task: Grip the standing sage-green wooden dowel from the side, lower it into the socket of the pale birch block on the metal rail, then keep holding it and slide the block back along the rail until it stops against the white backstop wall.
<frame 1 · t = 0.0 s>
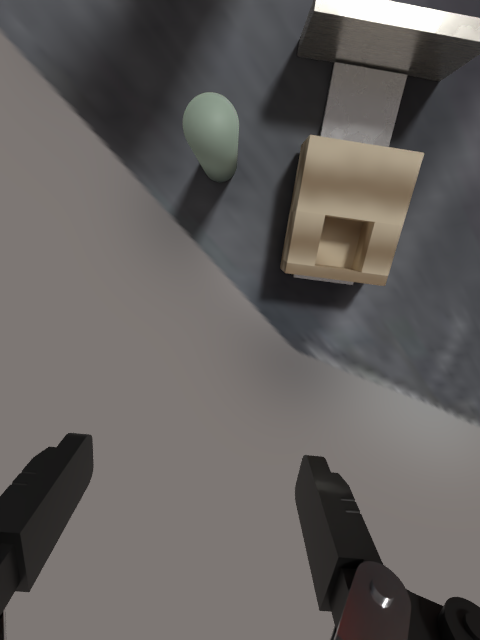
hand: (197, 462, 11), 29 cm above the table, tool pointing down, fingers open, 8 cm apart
rail base: (343, 186, 35), on the table
dowel: (219, 163, 34), on the table
socket block: (344, 216, 33), point 3 cm above the table, slide at 8.0 cm
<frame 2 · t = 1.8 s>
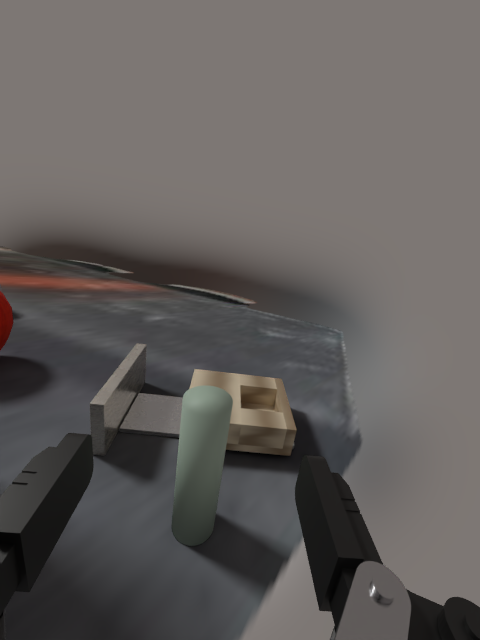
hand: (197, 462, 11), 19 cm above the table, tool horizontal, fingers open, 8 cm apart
rail base: (210, 420, 42), on the table
dowel: (193, 523, 28), on the table
socket block: (237, 407, 41), point 3 cm above the table, slide at 8.0 cm
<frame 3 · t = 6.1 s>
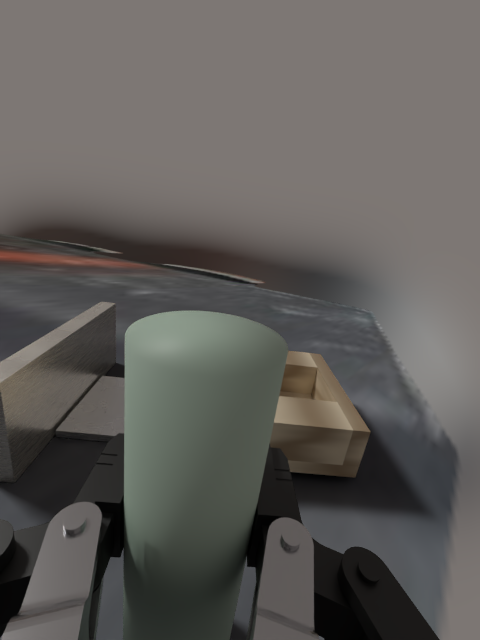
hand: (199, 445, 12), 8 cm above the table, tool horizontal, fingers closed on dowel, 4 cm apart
rail base: (213, 417, 26), on the table
socket block: (256, 395, 25), point 3 cm above the table, slide at 8.0 cm
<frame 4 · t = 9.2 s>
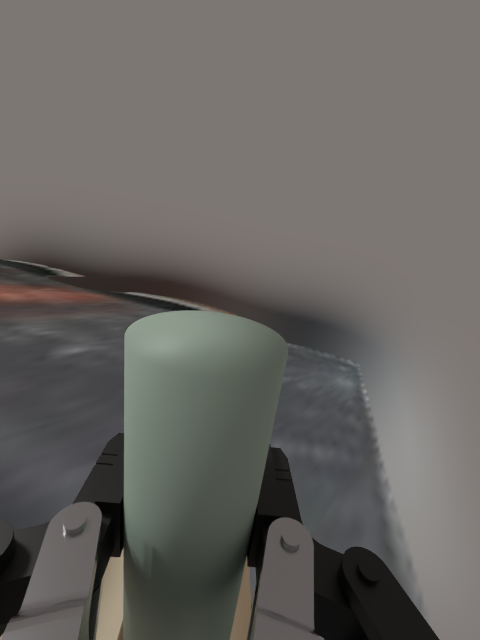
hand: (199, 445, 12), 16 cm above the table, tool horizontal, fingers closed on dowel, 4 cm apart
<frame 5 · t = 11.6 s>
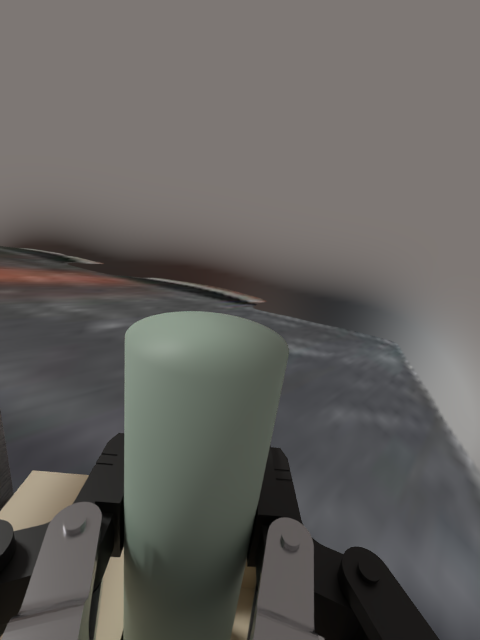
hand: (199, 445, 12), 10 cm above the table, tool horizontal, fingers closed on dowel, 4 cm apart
when the fingers open (10 cm above the table, at t = 12.6 s): dowel stays where it is, resting on socket block.
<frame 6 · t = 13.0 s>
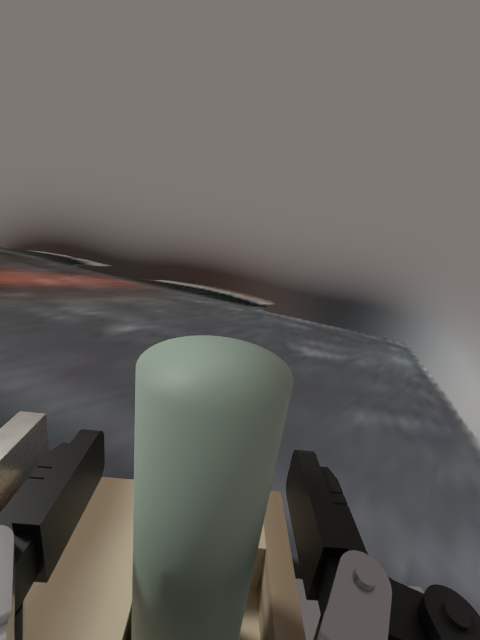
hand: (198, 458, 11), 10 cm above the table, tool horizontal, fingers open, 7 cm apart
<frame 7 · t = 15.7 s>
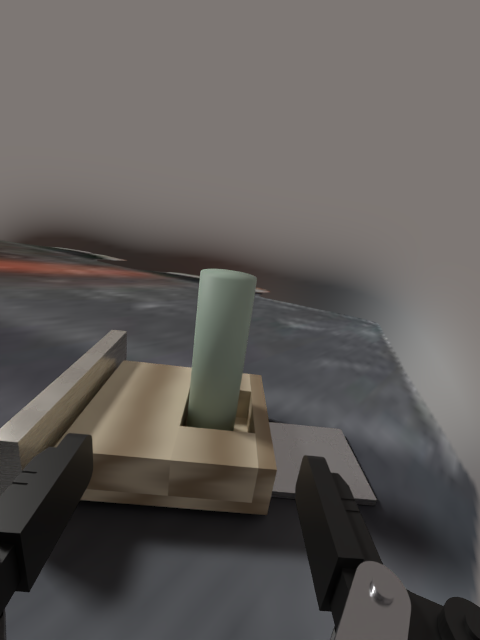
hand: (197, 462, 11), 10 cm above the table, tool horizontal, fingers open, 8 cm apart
rail base: (228, 453, 26), on the table
dowel: (209, 435, 25), point 2 cm above the table, touching socket block
socket block: (181, 423, 24), point 3 cm above the table, slide at 0.2 cm, touching dowel
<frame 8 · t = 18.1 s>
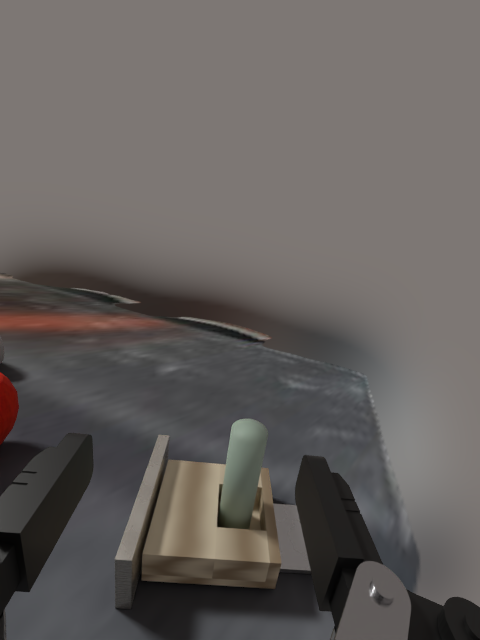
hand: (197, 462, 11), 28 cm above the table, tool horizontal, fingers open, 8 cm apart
rail base: (246, 533, 36), on the table
dowel: (233, 523, 36), point 2 cm above the table, touching socket block
socket block: (214, 515, 35), point 3 cm above the table, slide at 0.2 cm, touching dowel
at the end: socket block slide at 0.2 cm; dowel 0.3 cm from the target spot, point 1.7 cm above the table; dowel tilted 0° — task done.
